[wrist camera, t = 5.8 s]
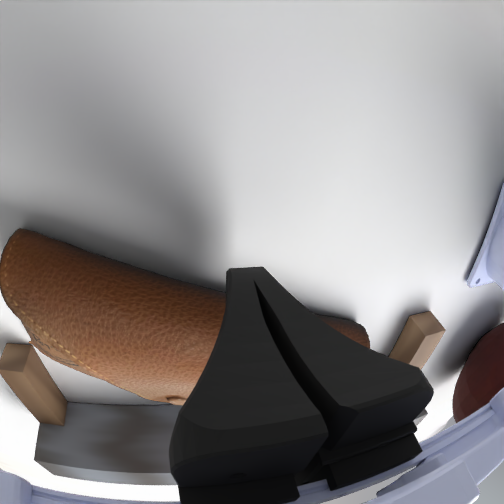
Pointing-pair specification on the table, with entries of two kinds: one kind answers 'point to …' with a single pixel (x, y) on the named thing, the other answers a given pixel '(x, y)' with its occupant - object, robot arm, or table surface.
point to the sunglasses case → (118, 316)
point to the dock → (135, 417)
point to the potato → (480, 375)
